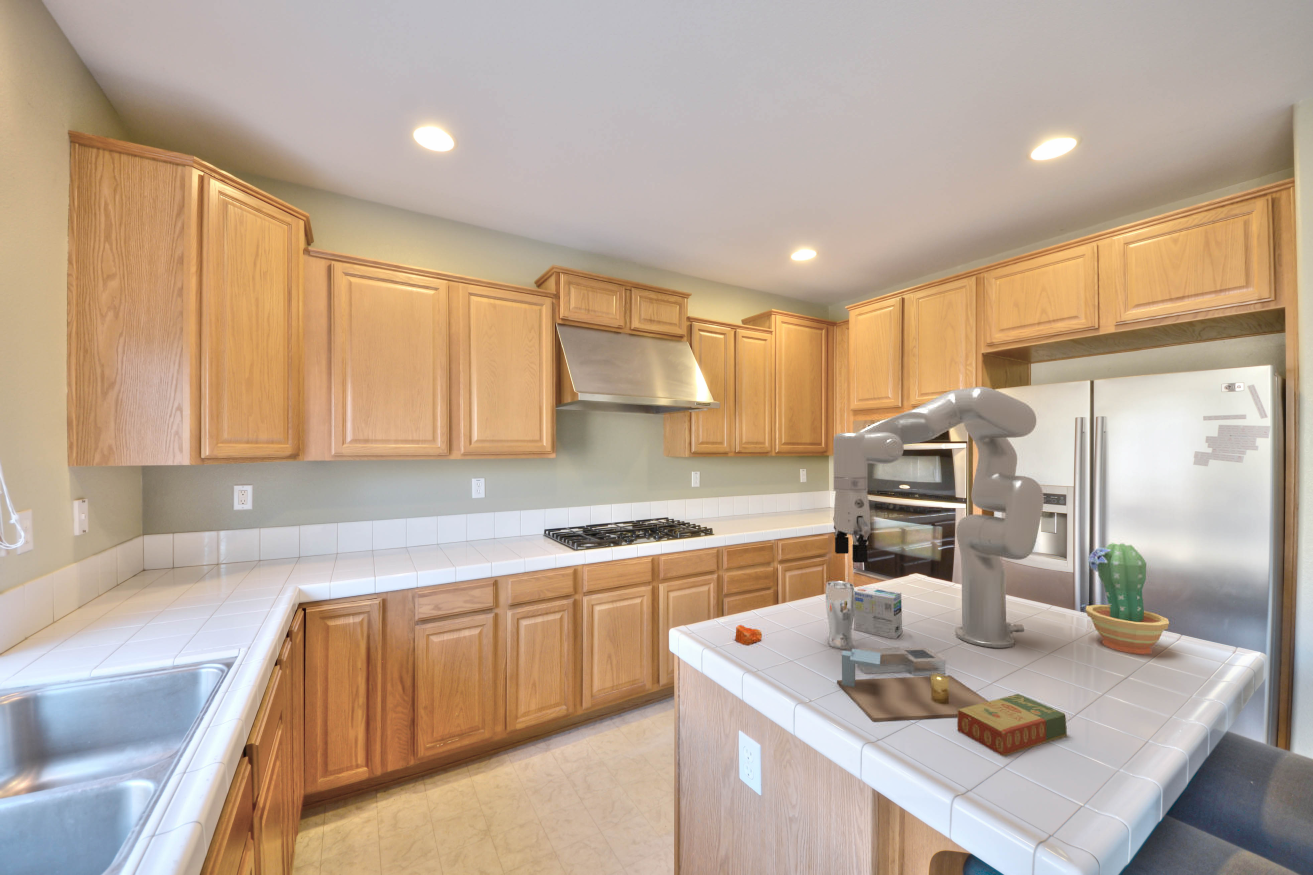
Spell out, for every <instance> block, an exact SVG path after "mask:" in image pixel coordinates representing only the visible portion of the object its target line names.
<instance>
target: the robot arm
mask: <svg viewBox="0 0 1313 875" xmlns="http://www.w3.org/2000/svg"><path fill="white" fill-rule="evenodd" d="M961 424H963V426H964V429H965V431H966V432H967V434H968V435H969V437H971V439H972V440H973V442H974V444H975V446H976V448H977V451H978V452H977V454H978V457H977V458H978V459H977V463H976V464H977V465H976V469H975V475H974V478H973V484H972V487H971V493H970V494H971V497H970V498H971V502H972V503H973V505H974V506H976V508H978V509H981V510H985V511H988V512H989V511H990V512H997V513H1002V514H1003V513H1004V517H998V516H994V515H993V516H992V515H988V514H987V515H986V514H979V513H978V514H976V513H975V514H968V515H966V516H964V517H962V518H961V519H960V520H959V521H958V524H957V526H956V529H955V530H956V531H955V534H956V540H957V544H958V548H959V552H960V563H961V568H960V569H961V616H962V617H961V619H962V620H961V622H962V623H961V624H962V625H961V626H959V627H957V628H955V635H956V637H957V638H959V639H960V640H962V641H964V642H967V643H969V644H972V645H976V646H980V647H986V648H993V649H994V648H995V649H997V648H998V649H1002V648H1003V649H1004V648H1010V647H1013V646H1014V645H1015V640H1014V637H1013V636H1012V634H1014V633H1024V632H1025V627H1024V625H1023V624H1019V623H1018V624H1017V623H1016V624H1012V623H1011V622H1007V594H1006V593H1007V592H1006V591H1007V590H1006V589H1007V588H1006V587H1007V586H1006V570H1005V567H1004V564H1003V561H1002V559H1001V558H1004V559H1009V560H1024V559H1026V558H1028V557H1029V556H1030V555H1031V554H1032V552H1033V551H1034V549H1035V546H1036V543H1037V539H1038V534H1039V530H1040V524H1041V519H1042V514H1043V510H1044V503H1045V497H1044V493H1043V489H1042V487H1041V486H1040V483H1039V482H1038V481H1037V480H1035V479H1033V478H1032V477H1030V476H1029V477H1028V476H1026V475H1024V476H1023V475H1016V472H1017V465H1018V455H1017V451H1016V449H1015V447H1014V446H1013V445H1012V443H1011V442H1010V440H1009V439H1010V438H1015V439H1016V438H1023V437H1026V436H1028V435H1030V434H1031V433H1032V432H1033V431H1034V429H1035V428H1036V426H1037V415H1036V413H1035V411H1034V410H1033V408H1032V407H1031V406H1030V405H1029V404H1027V403H1025V402H1023V401H1022V400H1020V399H1017V398H1015V397H1013V396H1010V395H1008V394H1006V393H1003V392H1001V391H999V390H998V389H997V390H996V389H994V388H990V387H986V386H974V387H973V386H972V387H966V388H958V389H953V390H949V391H947V392H945V393H942V394H940V395H939V396H936V397H935V398H933V399H931V400H928V401H926V402H925V403H923V404H921V405H919V406H917V407H915V408H913V409H911V410H908V411H905V412H902V413H899V414H897V415H894V416H892V417H889V418H887V419H883V420H881V421H878V422H876V423H873V424H871V425H869V426H867V427H865V428H864V429H863V428H862V429H861V430H859V431H857V432H840V433H837V434H835V435H834V437H833V448H832V449H833V491H834V492H835V493H834V494H835V496H834V505H833V506H834V507H833V508H834V510H833V517H832V518H833V529H834V553H835V554H838V555H841V554H843V555H846V554H849V548H850V546H849V542H850V541H849V539H850V538H849V537H848V535H850V536H851V538H852V541H853V544H852V547H851V548H852V554H851V555H852V558H851V559H852V562H853V563H854V564H855V563H857V564H858V563H860V564H861V563H867V562H868V545H869V540H870V534H871V512H870V510H871V509H870V501H869V495H868V464H877V465H878V464H879V465H880V464H881V465H888V464H892V463H895V462H897V461H898V460H899V459H900V458H901V457H902V455H903V453H904V448H905V445H912V444H918V443H924V442H927V441H930V440H933V439H935V438H936V437H938V436H940V435H942V434H943V433H946V432H947V431H949V430H951V429H953V428H955V427H957V426H958V425H961ZM1008 438H1009V439H1008Z"/></svg>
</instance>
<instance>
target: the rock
mask: <svg viewBox="0 0 1313 875" xmlns="http://www.w3.org/2000/svg"><path fill="white" fill-rule="evenodd" d="M734 638H735V641H736V642H738V643H739V644H741V645H743V646H744V645H745V646H749V645H752V644H755V643H759V642H760V641H761V640H762V638H763V633H762V630H761V629H758V628H751V627H746V626H744V625H742V624H739V625H737V626H736V627H735V636H734Z"/></svg>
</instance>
